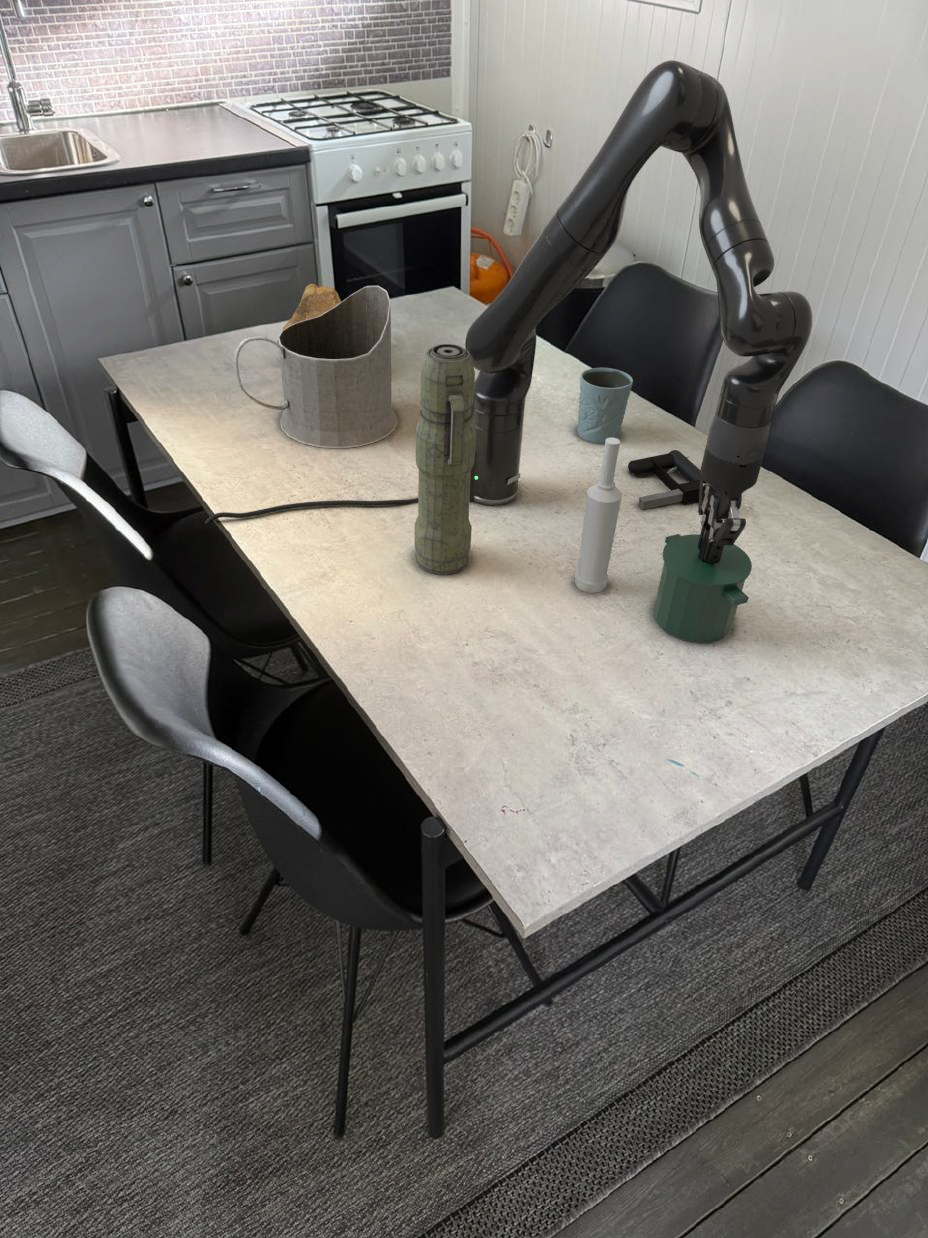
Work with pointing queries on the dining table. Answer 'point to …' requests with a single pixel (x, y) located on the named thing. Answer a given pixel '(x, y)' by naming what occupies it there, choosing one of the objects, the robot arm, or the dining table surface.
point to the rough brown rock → (314, 303)
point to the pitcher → (337, 373)
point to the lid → (692, 567)
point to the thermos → (445, 460)
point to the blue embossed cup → (602, 403)
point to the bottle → (599, 524)
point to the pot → (695, 607)
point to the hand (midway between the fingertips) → (708, 554)
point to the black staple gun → (669, 479)
